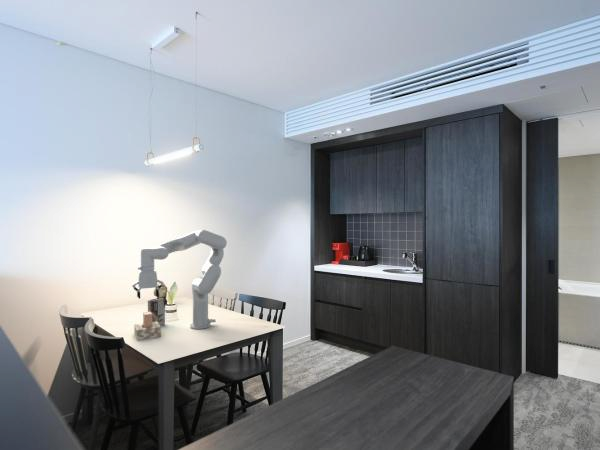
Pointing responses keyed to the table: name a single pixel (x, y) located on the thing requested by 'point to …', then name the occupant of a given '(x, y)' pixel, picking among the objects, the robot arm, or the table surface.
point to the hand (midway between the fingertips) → (148, 297)
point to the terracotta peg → (147, 319)
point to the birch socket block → (147, 331)
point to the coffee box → (157, 310)
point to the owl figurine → (162, 293)
